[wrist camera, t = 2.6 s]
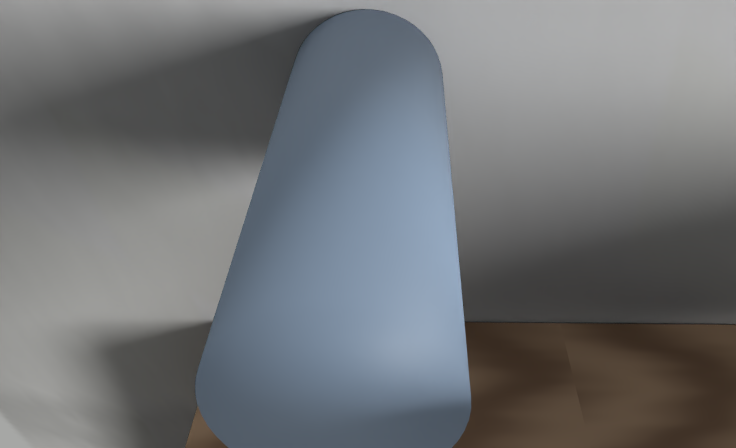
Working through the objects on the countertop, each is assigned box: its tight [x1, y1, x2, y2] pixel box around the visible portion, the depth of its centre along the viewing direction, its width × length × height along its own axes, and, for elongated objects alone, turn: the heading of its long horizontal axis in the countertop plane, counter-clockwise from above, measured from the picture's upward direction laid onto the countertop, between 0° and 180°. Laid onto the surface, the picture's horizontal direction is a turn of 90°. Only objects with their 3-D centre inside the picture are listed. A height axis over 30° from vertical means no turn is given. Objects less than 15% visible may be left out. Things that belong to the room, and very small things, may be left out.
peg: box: [195, 9, 471, 448], centre depth 16 cm, size 4×4×12 cm
